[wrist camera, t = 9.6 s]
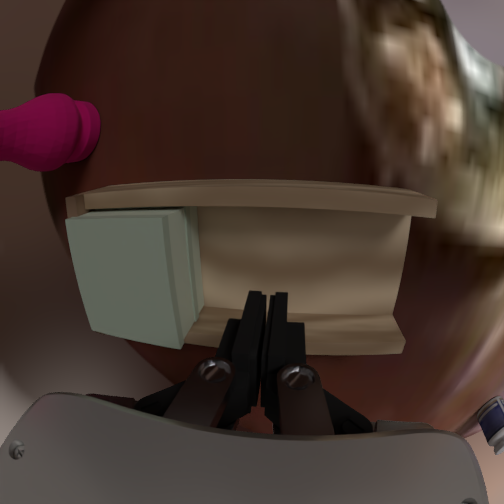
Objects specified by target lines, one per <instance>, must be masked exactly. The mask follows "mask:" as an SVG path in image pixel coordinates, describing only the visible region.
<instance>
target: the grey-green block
mask: <svg viewBox="0 0 504 504" xmlns="http://www.w3.org/2000/svg"><path fill="white" fill-rule="evenodd" d="M65 222H66V228H67V234H68V240H69V245H70V251H71V256H72V260H73V265H74V269H75V273H76V277H77V281H78V285H79V289H80V293H81V296H82V300H83V303H84V306H85V310H86V313H87V316H88V320H89V322H90V326H91V329H92V330H94V331H97V332H101V333H104V334H109V335H112V336H117V337H121V338H125V339H130V340H134V341H139V342H143V343H148V344H153V345H158V346H164V347H169V348H175V349H181V348H182V346H183V344H184V339H185V337H186V335H187V333H188V332H189V330H190V328H191V326H192V325H193V323H194V322H196V321H197V320H198V318H199V313H200V311H201V309H202V308H203V306H204V296H203V285H202V274H201V261H200V248H199V232H198V215H197V206H161V207H127V208H104V209H95V210H94V211H91V212H89V213H86V214H83V215H81V216H78V217H71V218H68V219H66V220H65Z"/></svg>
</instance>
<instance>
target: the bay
mask: <svg viewBox="0 0 504 504" xmlns="http://www.w3.org/2000/svg"><path fill="white" fill-rule="evenodd" d="M65 199H66V208H67V215H68V218H71V217H78V216H81V215H83V214H86V213H89V212H91V211H94V210H95V209H104V208H127V207H161V206H197V215H198V232H199V248H200V261H201V274H202V285H203V296H204V306H203V308H202V309H201V311H200V313H199V318H198V320H197V321H196V322H194V323H193V325H192V326H191V328H190V330H189V332H188V333H187V335H186V337H185V339H184V343H188V344H195V345H202V346H210V347H219V344H220V341H221V339H222V336H223V333H224V330H225V327H226V324H227V321H228V319H229V318H234V319H241V318H242V314H243V311H244V307H245V303H246V300H247V296H248V293H249V290H252V291H262V294H265V295H267V308H266V322H267V315H268V308H269V301H270V295H275V293H276V292H288V309H287V322H304V324H305V345H306V354H307V355H375V354H396V353H402V350H403V348H404V345H405V342H406V341H405V339H404V337H403V335H402V333H401V331H400V329H399V327H398V325H397V323H396V321H395V319H394V317H393V315H392V313H393V309H394V305H395V301H396V297H397V293H398V289H399V284H400V280H401V275H402V270H403V265H404V260H405V254H406V248H407V242H408V236H409V229H410V221H411V216H419V217H428V218H436V210H437V201H438V200H436V199H434V198H431V197H428V196H425V195H423V194H420V193H417V192H414V191H411V190H408V189H401V188H392V187H383V186H373V185H362V184H350V183H336V182H320V181H299V180H262V179H223V180H187V181H166V182H150V183H136V184H124V185H113V186H107V187H103V188H99V189H95V190H92V191H88V192H84V193H80V194H77V195H73V196H70V197H66V198H65ZM95 332H97V331H95ZM97 333H101V332H97ZM101 334H104V333H101Z"/></svg>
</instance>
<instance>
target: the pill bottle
mask: <svg viewBox="0 0 504 504" xmlns="http://www.w3.org/2000/svg"><path fill="white" fill-rule="evenodd" d="M477 419H478V421H479V424H480V426H481V428H482V430H483V433H484V435H485V437H486V440H487V442H488V444H489V446H494V452H495V455H498V454H500V453H502V452H503V451H504V400H503V398H502V397H501V396H497V397H495V398H493V399H491V400H490V401H488V402H487V403H486V404H485V405H484V406H483V407H482V408H481V409H480V410H479V412H478V414H477Z"/></svg>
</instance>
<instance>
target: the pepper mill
mask: <svg viewBox="0 0 504 504" xmlns="http://www.w3.org/2000/svg"><path fill="white" fill-rule="evenodd" d="M100 125H101V122H100V116H99V113H98V111H97V109H96V108H95V106H94V105H92V104H91V103H89V102H84V101H73V99H71V98H70V97H69V96H67V95H65V94H62V93H49V94H45V95H41V96H38V97H36V98H34V99H32V100H30V101H28V102H26V103H24V104H22V105H20V106H18V107H16V108H12V109H9V110H0V161H11V162H14V163H17V164H19V165H21V166H23V167H25V168H27V169H29V170H34V171H52V170H55V169H57V168H59V167H60V166H62V165H63V164H64V163H71V162H78V161H81V160H83V159H85V158H86V157H88V156H89V155H90V154H91V152H92V151H93V149H94V148H95V146H96V144H97V141H98V139H99V134H100Z"/></svg>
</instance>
